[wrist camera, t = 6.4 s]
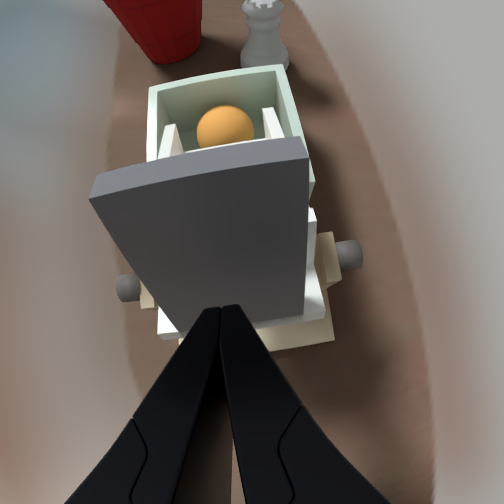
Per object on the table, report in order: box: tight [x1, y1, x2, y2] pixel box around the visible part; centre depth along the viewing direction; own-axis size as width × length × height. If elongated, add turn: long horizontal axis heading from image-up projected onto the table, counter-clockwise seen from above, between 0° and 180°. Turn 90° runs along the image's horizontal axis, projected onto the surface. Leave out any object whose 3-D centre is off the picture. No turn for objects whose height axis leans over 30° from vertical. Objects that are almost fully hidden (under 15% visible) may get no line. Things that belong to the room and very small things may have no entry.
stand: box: [116, 231, 363, 351], centre depth 17 cm, size 8×10×9 cm
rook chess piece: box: [240, 0, 289, 70], centre depth 21 cm, size 4×4×8 cm
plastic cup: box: [103, 0, 202, 64], centre depth 21 cm, size 11×11×12 cm
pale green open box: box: [147, 64, 315, 200], centre depth 20 cm, size 9×9×6 cm
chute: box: [89, 107, 326, 340], centre depth 12 cm, size 11×6×7 cm, turn 7°
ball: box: [197, 105, 254, 149], centre depth 21 cm, size 4×4×4 cm
